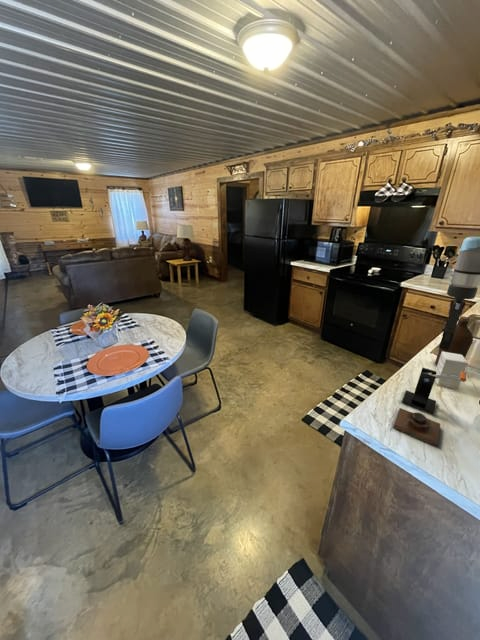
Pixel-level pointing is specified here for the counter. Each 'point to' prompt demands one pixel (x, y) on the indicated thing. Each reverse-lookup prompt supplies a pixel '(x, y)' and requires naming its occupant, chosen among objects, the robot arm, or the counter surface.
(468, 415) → the counter surface
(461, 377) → the switch
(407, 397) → the switch bracket
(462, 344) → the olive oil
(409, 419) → the button block
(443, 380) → the white packaging box
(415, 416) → the button
